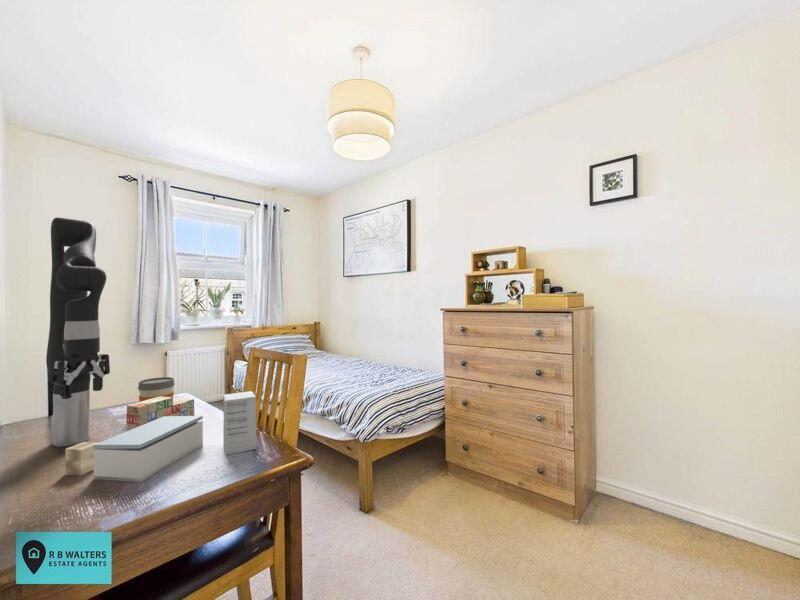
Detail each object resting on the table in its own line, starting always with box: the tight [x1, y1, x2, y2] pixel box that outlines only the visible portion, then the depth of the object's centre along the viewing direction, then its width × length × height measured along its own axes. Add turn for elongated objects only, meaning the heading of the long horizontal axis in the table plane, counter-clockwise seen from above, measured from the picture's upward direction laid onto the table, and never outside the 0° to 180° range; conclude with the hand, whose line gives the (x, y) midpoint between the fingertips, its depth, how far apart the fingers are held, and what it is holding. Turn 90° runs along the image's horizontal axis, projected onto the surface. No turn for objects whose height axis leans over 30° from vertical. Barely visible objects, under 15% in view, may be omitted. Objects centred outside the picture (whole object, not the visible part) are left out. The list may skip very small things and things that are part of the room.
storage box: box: [93, 420, 204, 483], centre depth 106 cm, size 14×24×8 cm, turn 173°
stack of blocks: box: [125, 396, 195, 432], centre depth 131 cm, size 21×6×12 cm, turn 160°
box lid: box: [93, 415, 203, 449], centre depth 106 cm, size 14×24×1 cm, turn 172°
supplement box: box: [222, 391, 257, 456], centre depth 116 cm, size 10×9×17 cm
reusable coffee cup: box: [137, 376, 175, 402], centre depth 148 cm, size 13×13×15 cm
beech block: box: [64, 441, 98, 476], centre depth 100 cm, size 5×5×7 cm
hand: (82, 394), depth 100 cm, fingers open, 8 cm apart
